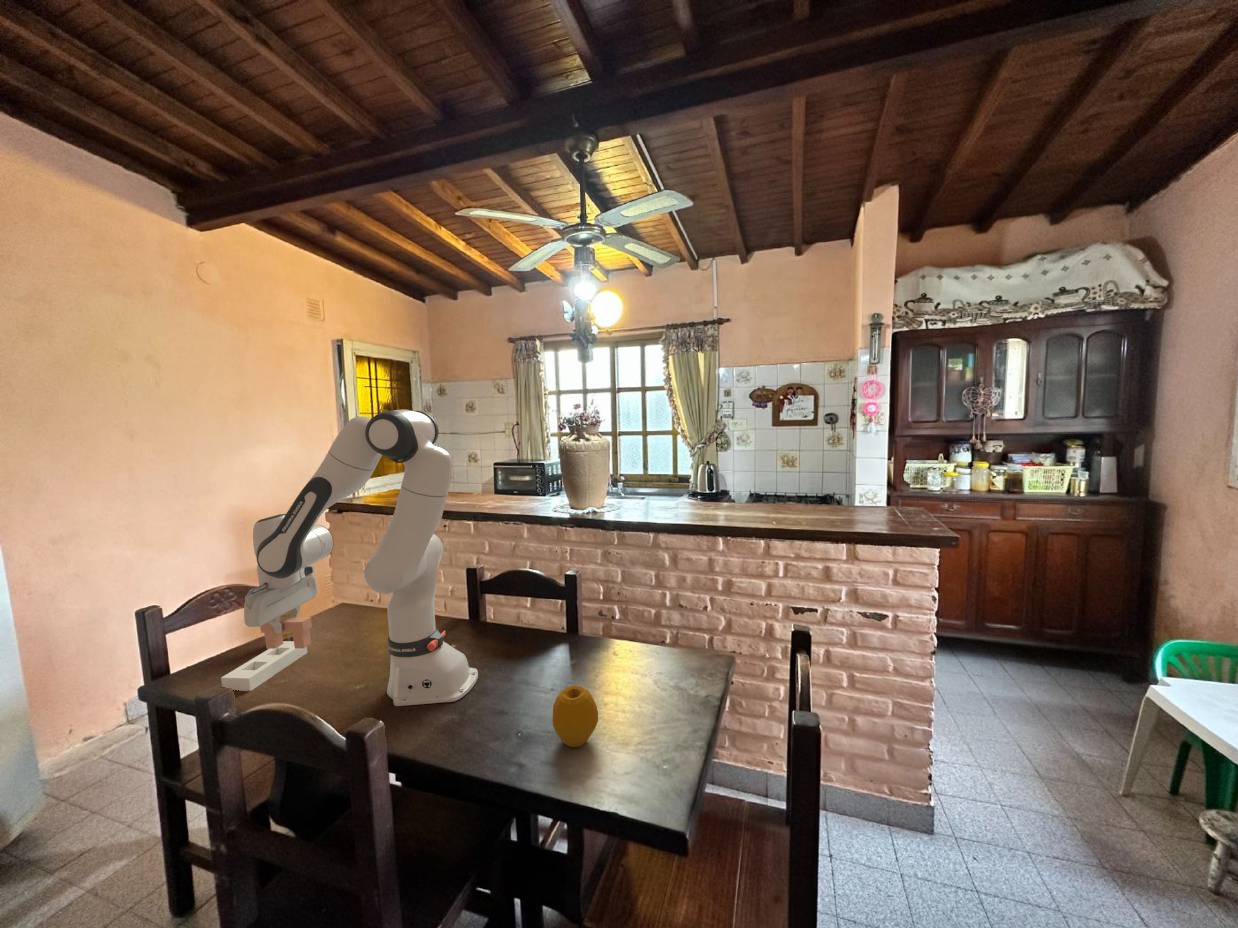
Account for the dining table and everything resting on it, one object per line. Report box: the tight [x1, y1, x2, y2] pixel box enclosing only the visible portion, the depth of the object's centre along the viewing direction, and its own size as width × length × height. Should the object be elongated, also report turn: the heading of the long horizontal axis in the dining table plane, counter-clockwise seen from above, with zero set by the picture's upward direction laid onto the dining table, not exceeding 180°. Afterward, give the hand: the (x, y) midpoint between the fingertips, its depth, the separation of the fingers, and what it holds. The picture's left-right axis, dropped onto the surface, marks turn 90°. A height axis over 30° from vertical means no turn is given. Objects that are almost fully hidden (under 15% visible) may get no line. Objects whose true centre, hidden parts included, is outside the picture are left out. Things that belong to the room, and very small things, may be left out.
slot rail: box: [220, 641, 308, 692], centre depth 135 cm, size 8×20×4 cm, turn 174°
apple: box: [552, 685, 599, 748], centre depth 101 cm, size 10×10×12 cm
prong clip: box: [259, 616, 313, 650], centre depth 125 cm, size 3×12×7 cm, turn 84°
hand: (286, 627), depth 125 cm, fingers closed on prong clip, 3 cm apart
